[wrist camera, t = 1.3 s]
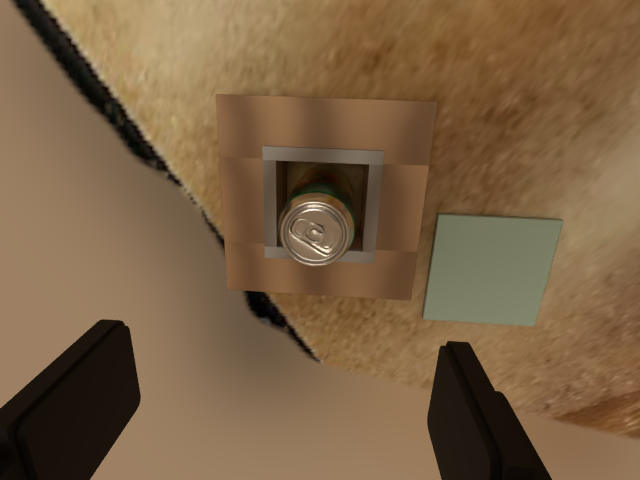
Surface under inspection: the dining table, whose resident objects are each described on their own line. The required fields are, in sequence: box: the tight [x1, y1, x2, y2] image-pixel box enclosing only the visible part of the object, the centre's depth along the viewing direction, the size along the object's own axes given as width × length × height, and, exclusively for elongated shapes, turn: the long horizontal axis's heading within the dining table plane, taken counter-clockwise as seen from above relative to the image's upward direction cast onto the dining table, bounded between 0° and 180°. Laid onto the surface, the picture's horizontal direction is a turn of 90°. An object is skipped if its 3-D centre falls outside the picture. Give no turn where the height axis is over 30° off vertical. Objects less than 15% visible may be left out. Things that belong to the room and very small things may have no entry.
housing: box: [216, 94, 438, 300], centre depth 31 cm, size 16×16×6 cm
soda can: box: [277, 165, 355, 266], centre depth 28 cm, size 5×5×12 cm
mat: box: [422, 213, 563, 326], centre depth 35 cm, size 11×11×1 cm
